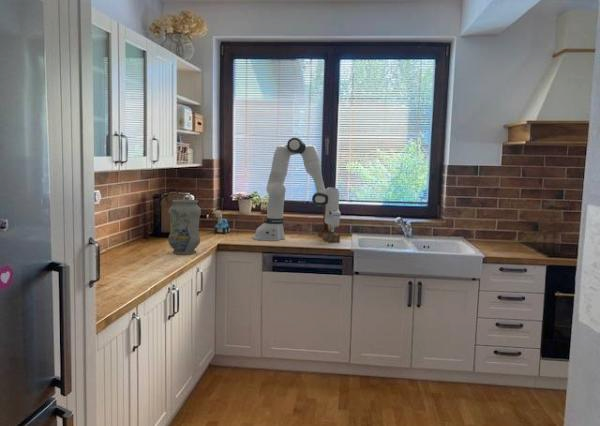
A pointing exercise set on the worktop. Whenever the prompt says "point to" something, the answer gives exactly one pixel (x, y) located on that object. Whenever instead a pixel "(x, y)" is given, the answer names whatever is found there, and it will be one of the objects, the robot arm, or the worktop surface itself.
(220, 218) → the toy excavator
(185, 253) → the vase
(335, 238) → the walnut seat board
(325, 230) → the sculpture
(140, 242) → the worktop surface
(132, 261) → the worktop surface
